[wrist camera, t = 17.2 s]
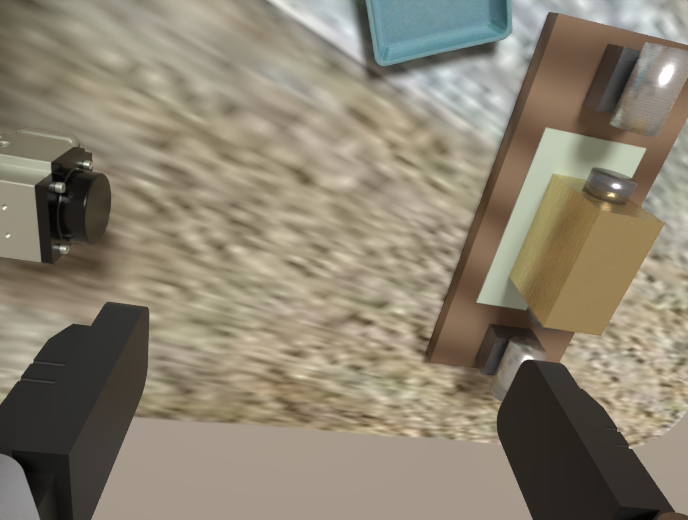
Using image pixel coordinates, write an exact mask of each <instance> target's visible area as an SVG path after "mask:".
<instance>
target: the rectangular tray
mask: <svg viewBox="0 0 688 520" xmlns="http://www.w3.org/2000/svg"><path fill="white" fill-rule="evenodd" d="M365 2H366V7H367V13H368V20H369V26H370V32H371V39H372V46H373V53H374V59H375V62H376V63H377V64H378V65H380V66H382V67H384V66H389V65H393V64H397V63H401V62H405V61H409V60H413V59H417V58H422V57H426V56H430V55H434V54H439V53H443V52H448V51H453V50H458V49H462V48H467V47H471V46H476V45H480V44H485V43H490V42H495V41H499V40H503V39H505V38H507V37H508V36H509V35H510V34H511V32H512V10H511V0H365Z"/></svg>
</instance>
